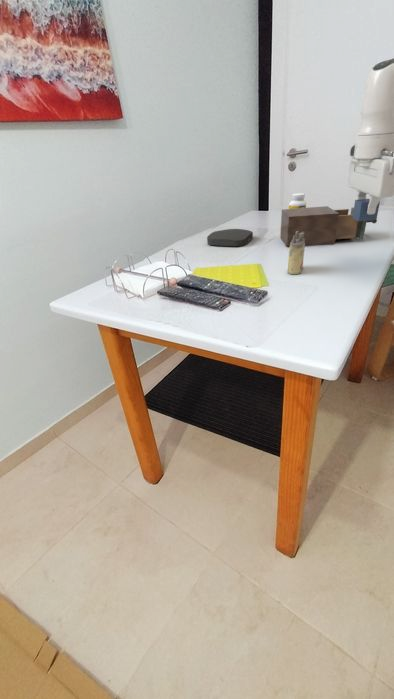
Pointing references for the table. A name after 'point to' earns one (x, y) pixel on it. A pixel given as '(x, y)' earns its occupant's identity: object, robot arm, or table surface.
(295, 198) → the pill bottle
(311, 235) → the cabinet
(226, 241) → the media streaming box
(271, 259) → the table surface
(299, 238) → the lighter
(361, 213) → the block
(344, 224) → the drawer
